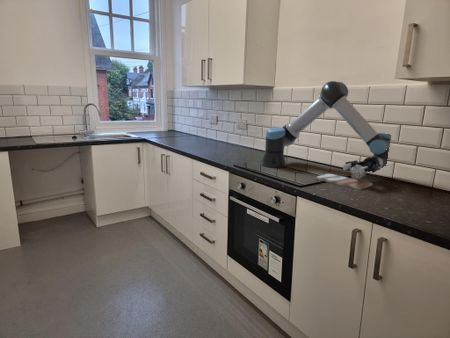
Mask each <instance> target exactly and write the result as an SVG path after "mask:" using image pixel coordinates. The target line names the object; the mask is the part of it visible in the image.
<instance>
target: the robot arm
mask: <svg viewBox="0 0 450 338" xmlns="http://www.w3.org/2000/svg"><path fill="white" fill-rule="evenodd" d="M348 88H349V87H347V85H346V84H345V83H344V82H342V81H335V80H330V81H328V82H326V83H325V84H324V85H323V86H322V88H321V92H320V93H318V94H319V95H318V98H317V99H316V100H315V101H314V102H313V103H311V104H310V105H309V106H308V107H307V108H306V109H305V110H304V111H303V112H301V113H300V114H299V115H298V116H297V117H296V118H294V120H292V121H291V122H290V123H289V122H287V123H286V124H284V125H283V127H277V126H276V127H275V126H274V127H269V128H267V129H266V133H265V145H264V146H265V151H264V155H263V157H262V160H261V165H262V166H264V167H266V168H267V167H268V168H275V169H276V168H277V169H278V168H285V167H286V163H287V162H286V160H285V159H286V158H285V155H284V153H285V147H289V146H291V145H292V144H294V142H295V141H296V140H297V139H298V138H299V137H300V133H301V132H302V131H304V130H305V129H306V128H307V127H309V126H310V125H311V124H312V123H314V121H315V120H317V119H318V118H319V117H320V116H322V115H323V114H324V113H325V112H326V111H328V110H329V109H330V110H331V109H334V110H335V111H337V113H338V115H340V116H341V117H342V118H343V120H344V121H345V122H346V123H347V124H348V125H349V126H350V127H351V129H352V130H353V131H354V132H355V133H356V134H357V135H358V136H359V137H360V138H361V140H362V141H364V143H365V144H366V145H367V147H368V148H369V151H370V152H371V154H373V155H372V156H367V157H365V158H364V159H363V160H362V161H361V160H360V161H358V160H356V159H355V160H352V161H345V164H343V165H342V166H343V167H342V168H343V169H342V170H343V171H347V170H349V169H350V168H352V167H353V166H354V165H356V163H357V165H361V166H364V165H365V166H364V167H362V168H360V174H362V173H367V172H368V173H376V172H377V171H380V170H381V169H383V167H384V166H386V164H387V159H388V152H389V153H390V149H389V147H390V148H391V142H390V140H391V141H392V134H391V133H388V134H385V133H386V132H377V131H376V129H374V128H373V126H372V125H371V124H370V123H369V122H368V121H367V120H366V119H365V118H364V116H363V115H361V113H360V112H359V111H358V110H357V108H356V107H354V105H353V104H352V103H351V102H350V101H349V100H348V99H347V97H348V96H349V89H348ZM390 134H391V135H390ZM386 149H387V150H386ZM386 167H387V166H386ZM348 168H349V169H348ZM384 168H385V167H384Z"/></svg>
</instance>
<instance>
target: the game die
mask: <svg viewBox="0 0 450 338" xmlns="http://www.w3.org/2000/svg"><path fill="white" fill-rule="evenodd" d="M364 166H365V165H364ZM364 166H361V165H357V163H356V165H354V166H353V167H352V168H350V169H349V168H348V170H349V175H350V177H349V178H350V179H356V180H358V181H359V180H361V179H362V178H364V177H365V176H368V174H367V172H365V173H362V174H360V168H362V167H364Z"/></svg>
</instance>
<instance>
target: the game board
mask: <svg viewBox="0 0 450 338" xmlns="http://www.w3.org/2000/svg"><path fill="white" fill-rule="evenodd" d="M350 178H351V177H346V176H342V175H338V174H332V173H324V174H320V175H318V176H315V180H319V181H322V180H323V181H324V182H328V183H330V184H331V183H332V184H335V185H339V186H343V187H348V188H352V189H356V190H359V191H361V190H364V189H366V188H369V187H372V186H373V182H369V181H364V180H361V179H359V181H358V179H355V178H351V179H350Z"/></svg>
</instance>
